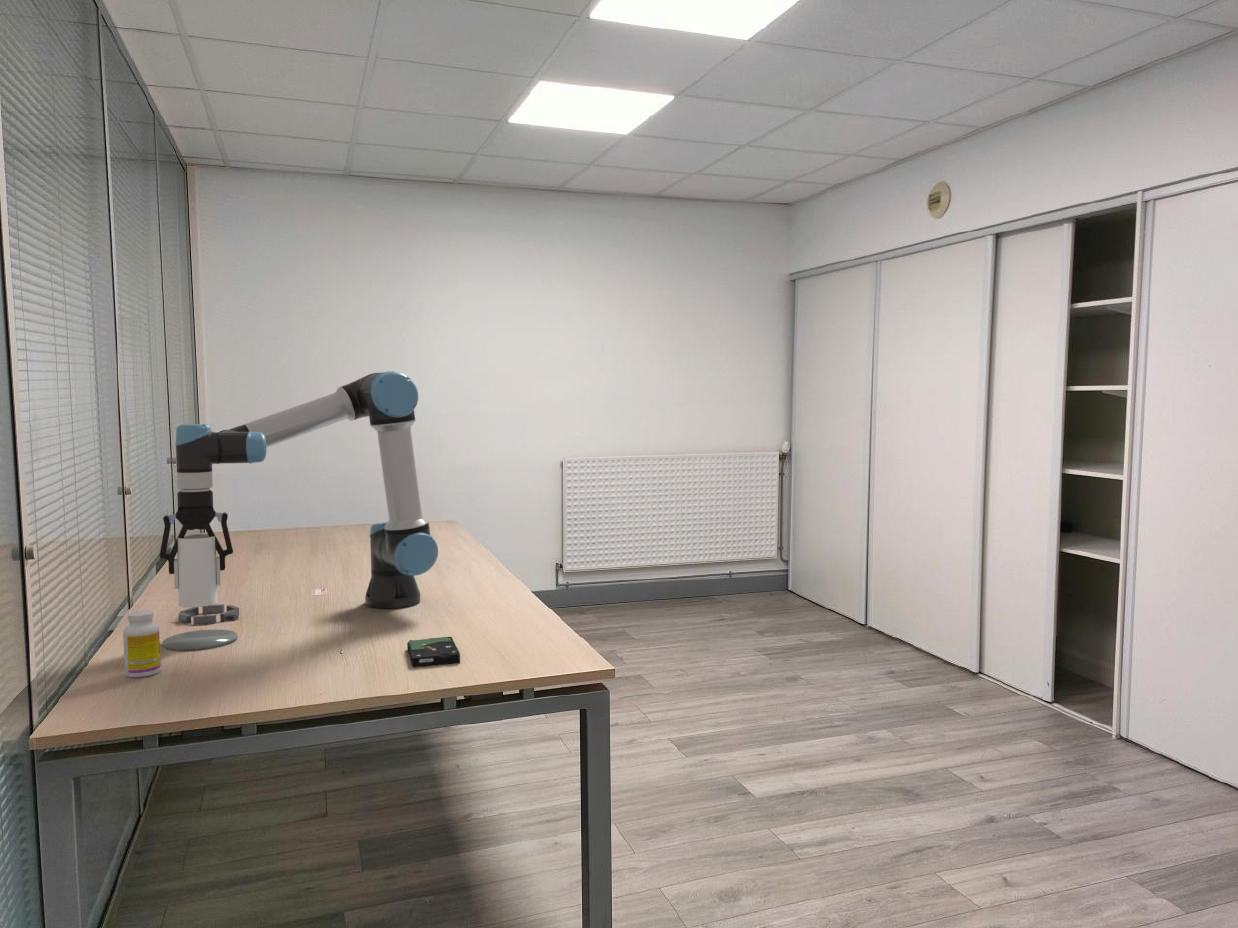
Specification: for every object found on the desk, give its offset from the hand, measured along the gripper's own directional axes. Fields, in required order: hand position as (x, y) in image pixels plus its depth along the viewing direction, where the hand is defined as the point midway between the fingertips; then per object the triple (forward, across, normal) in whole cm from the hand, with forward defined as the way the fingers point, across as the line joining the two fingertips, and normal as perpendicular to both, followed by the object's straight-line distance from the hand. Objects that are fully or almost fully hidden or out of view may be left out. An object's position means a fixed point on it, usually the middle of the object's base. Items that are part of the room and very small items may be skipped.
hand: (197, 585), depth 208 cm
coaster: (+13, 0, 0) cm, 13 cm away
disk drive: (+14, -47, +36) cm, 61 cm away
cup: (+4, 0, 0) cm, 4 cm away
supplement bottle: (+14, +11, +22) cm, 28 cm away
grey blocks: (+13, -2, -24) cm, 28 cm away
